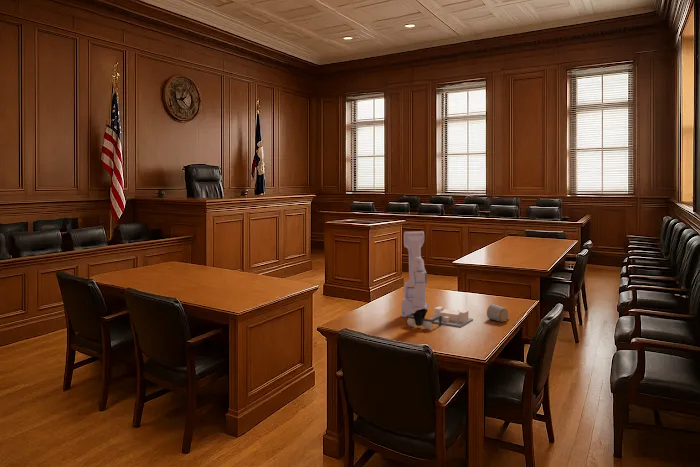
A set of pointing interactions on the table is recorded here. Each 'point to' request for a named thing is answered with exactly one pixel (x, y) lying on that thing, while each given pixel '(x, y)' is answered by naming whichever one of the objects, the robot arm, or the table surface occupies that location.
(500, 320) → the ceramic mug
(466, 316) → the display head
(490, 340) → the table surface
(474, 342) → the table surface
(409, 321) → the glasses
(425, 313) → the robot arm
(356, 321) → the table surface
